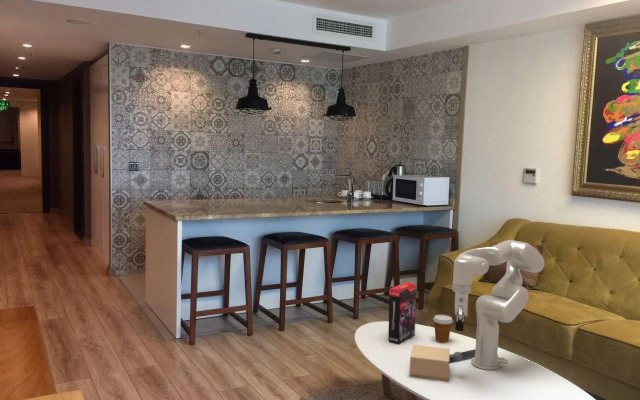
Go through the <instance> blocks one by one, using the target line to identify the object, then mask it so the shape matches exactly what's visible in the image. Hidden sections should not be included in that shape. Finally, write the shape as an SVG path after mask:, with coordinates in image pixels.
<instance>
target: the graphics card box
mask: <svg viewBox="0 0 640 400" xmlns="http://www.w3.org/2000/svg"><path fill="white" fill-rule="evenodd" d="M388 291H389V293H388V336H387V337H388V339H387V340H388V342H389V343H392V344H396V345H400V344H402V343H404V342H406V341H407V340H408V339H411V338H412V337H414V336H415V335H416V308H417V307H416V305H417V304H416V303H417V301H416V300H417V299H416V298H417V284H415V283H412V282H407V281H405V282H403V283H401V284H398V285H396V286H393V287H390V288H389V290H388Z"/></svg>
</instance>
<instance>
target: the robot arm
mask: <svg viewBox="0 0 640 400" xmlns="http://www.w3.org/2000/svg"><path fill="white" fill-rule="evenodd" d="M503 263H506V268H505V269H506V270H505V271H506V272H505V274H504V275H503V277H501V278H500V280H499V281H497V282H496V284H495V285H494V286H493V288H492V289H491V293H490V294H491V295H489V294H488V295H487V294H484V295H480V296H479V297H478V298H477V299H476V302H475V312H476V322H477V323H476V332H475V333H476V335H475V336H476V337H475V348H474V349H475V351H474V353H475V354H474V357H472V358H471V360H470V363H471V365H472V366H474V367H476V368H478V369H481V370H487V371H488V370H489V371H494V370H498V369H499V368H500V367H501V364H505V365H508V364H509V360H508V359H506V358H505V357H500V356H499V354H498V352H499V351H498V349H499V348H498V347H499V335H500V334H499V333H500V326H499V322H500V323H506V324H507V323H508V324H509V323H511V322H512V321H514V319H515V318H516V317H517V316H518V315H519V314H520V313H521V311H523V310H524V308H525V307H526V305H527V303H528V301H529V297H530V294H529V291H528V289H527V288H526V287H524V286H523V283H524V282H523V281H524V280H523V276H522V274H521V271H524V272H525V271H526V272H530V273H534V274H537V273H540V272H542V271H543V269H544V268H545V259H544V257H543V255H542V254H541V253H540V252H539V251H538V250H537V249H536V248H535V247H534V246H533V245H531V244H529V243H528V242H524V241H518V240H514V239H508V240H504V241H501V242H499V243H497V244H495V245H492V246H488V247H487V246H485V247H479V248H472V249H468V250H465V251H463V252H461V253H460V254H458V256H457V257H456V258H455V260H454V263H453V276H452V288H451V289H452V291H453V292H454V315H455V329H454V330H455V331H456V332H457V331H458V332H464V329H465V327H464V325H465V324H464V318H465V317H468V308H469V307H468V306H469V305H468V304H469V294H470V293H472V281H473V277H472V276H482V275H485V274H487V272H488V271H489V268H490V266H499V265H501V264H503Z"/></svg>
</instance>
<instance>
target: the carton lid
mask: <svg viewBox="0 0 640 400" xmlns="http://www.w3.org/2000/svg"><path fill="white" fill-rule="evenodd" d="M450 351H451V349H450V348H446V347H437V346H428V345H421V344H420V345H419V344H412V348H411V353H410V358H414V359H422V360H430V361H438V362H446V363H449V364H450V358H453V360H454V361H455V362H458V363H459V362H462V361H463V358H464V357H463V356H464V355H463V354H462V352H459V351H456V352H454V353H453V354H451V353H450ZM410 358H409V359H410Z"/></svg>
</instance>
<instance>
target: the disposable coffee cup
mask: <svg viewBox="0 0 640 400" xmlns="http://www.w3.org/2000/svg"><path fill="white" fill-rule="evenodd" d="M432 319H433V322H434V323H433V324H434V335H435V339H434V340H435V341H436V342H437V343H441V344H445V343H448V342H449V339H450V334H451V328H452V324H453V322H454V320H453V317H452V316H451V315H447V314H435V315H434V317H433V318H432Z"/></svg>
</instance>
